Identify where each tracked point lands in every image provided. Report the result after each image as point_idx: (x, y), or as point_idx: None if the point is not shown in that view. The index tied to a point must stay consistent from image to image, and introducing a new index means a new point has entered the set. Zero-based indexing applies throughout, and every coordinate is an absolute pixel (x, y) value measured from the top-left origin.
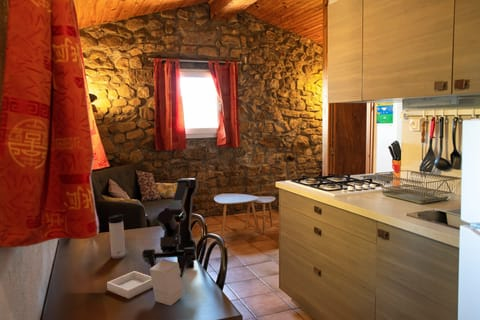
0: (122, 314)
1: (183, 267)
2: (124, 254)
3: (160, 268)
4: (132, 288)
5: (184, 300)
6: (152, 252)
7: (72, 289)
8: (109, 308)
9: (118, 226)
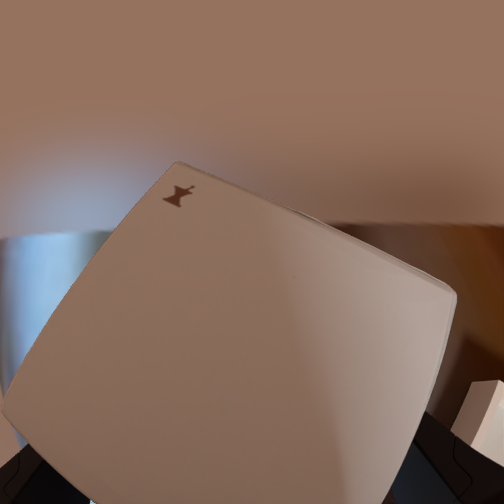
0: (429, 231)
1: (30, 448)
2: None
3: (276, 266)
4: (487, 410)
5: None
6: None
7: None
8: (499, 279)
9: None
